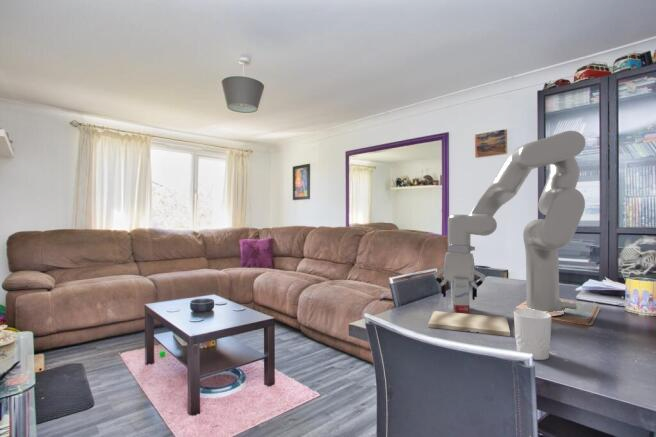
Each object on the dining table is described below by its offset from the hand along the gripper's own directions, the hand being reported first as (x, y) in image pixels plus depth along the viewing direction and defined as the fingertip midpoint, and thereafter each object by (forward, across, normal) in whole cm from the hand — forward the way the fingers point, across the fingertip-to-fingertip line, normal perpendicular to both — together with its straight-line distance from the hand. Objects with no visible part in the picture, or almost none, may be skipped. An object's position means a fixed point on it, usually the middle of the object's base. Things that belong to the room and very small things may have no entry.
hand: (458, 297), depth 122 cm
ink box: (+5, 0, 0) cm, 5 cm away
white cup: (+4, -18, +34) cm, 39 cm away
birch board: (+4, -4, +15) cm, 16 cm away
